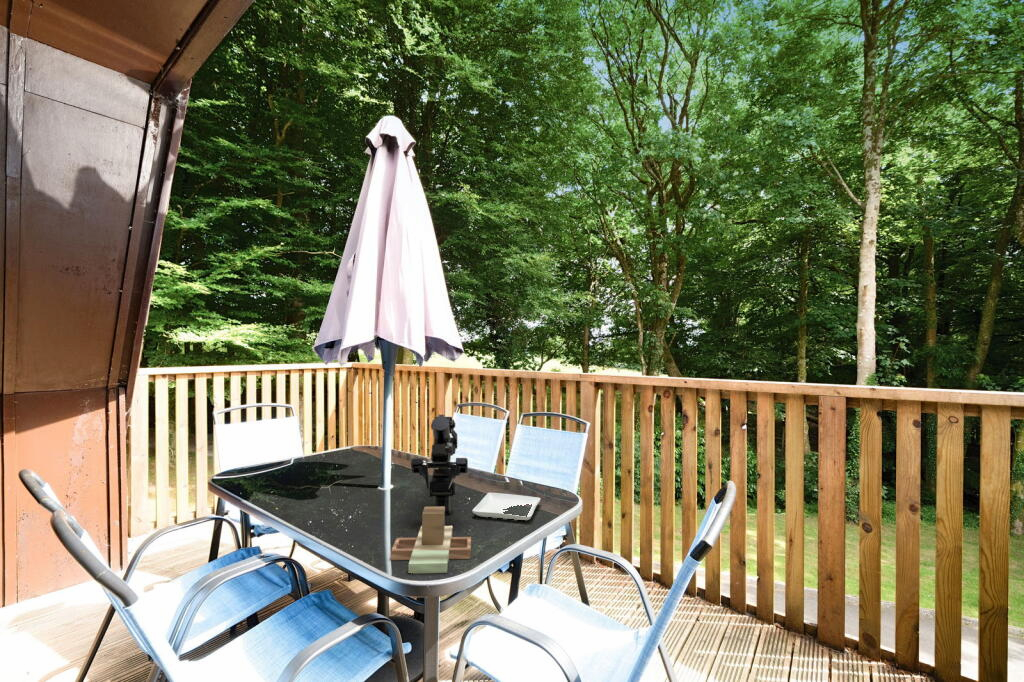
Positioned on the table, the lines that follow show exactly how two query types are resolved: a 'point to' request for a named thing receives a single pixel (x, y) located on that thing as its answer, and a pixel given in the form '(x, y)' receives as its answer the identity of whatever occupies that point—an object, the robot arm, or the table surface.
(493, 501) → the salad plate
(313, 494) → the table surface
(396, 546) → the track
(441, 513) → the walnut block
